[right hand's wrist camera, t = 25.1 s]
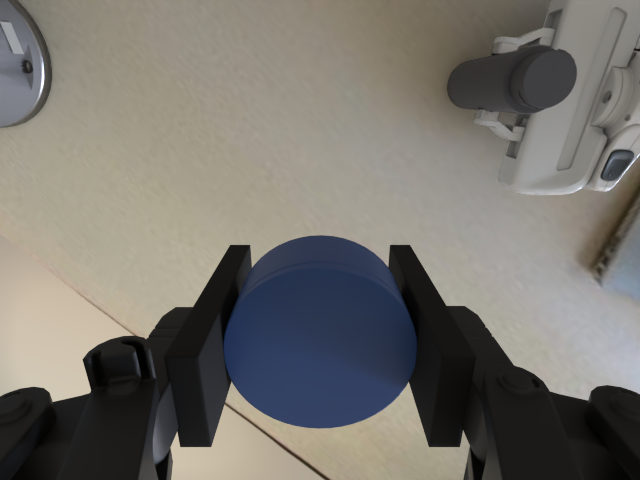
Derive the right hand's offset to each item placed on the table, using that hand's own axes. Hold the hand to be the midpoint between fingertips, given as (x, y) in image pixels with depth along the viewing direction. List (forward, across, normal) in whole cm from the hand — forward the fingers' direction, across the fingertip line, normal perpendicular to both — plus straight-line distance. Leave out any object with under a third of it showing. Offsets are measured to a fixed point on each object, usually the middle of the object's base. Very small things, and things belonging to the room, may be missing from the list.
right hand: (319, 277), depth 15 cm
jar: (+33, +17, +8) cm, 38 cm away
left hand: (+26, +16, +8) cm, 32 cm away
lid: (-4, 0, 0) cm, 4 cm away
